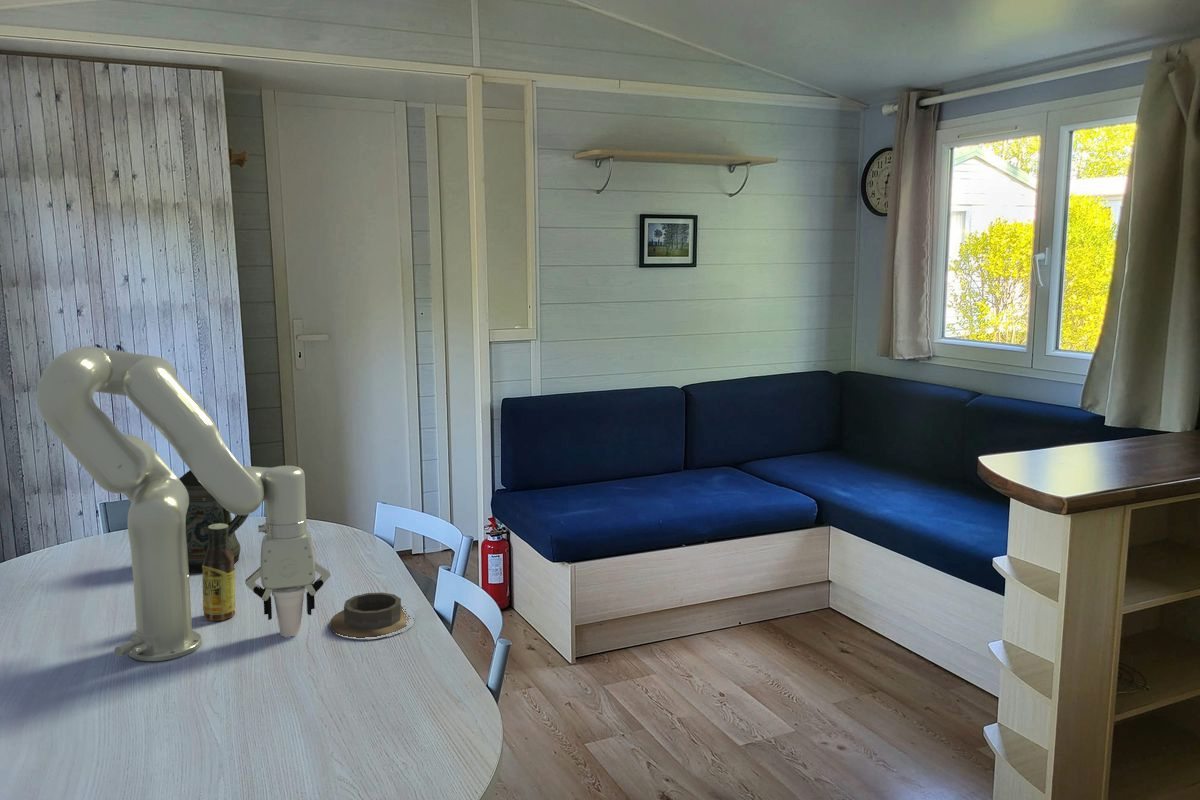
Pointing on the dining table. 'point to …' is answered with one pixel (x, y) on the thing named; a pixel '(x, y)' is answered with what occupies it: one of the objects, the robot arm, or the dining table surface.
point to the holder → (370, 616)
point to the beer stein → (206, 522)
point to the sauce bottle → (218, 575)
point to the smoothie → (289, 609)
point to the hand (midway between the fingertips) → (289, 614)
